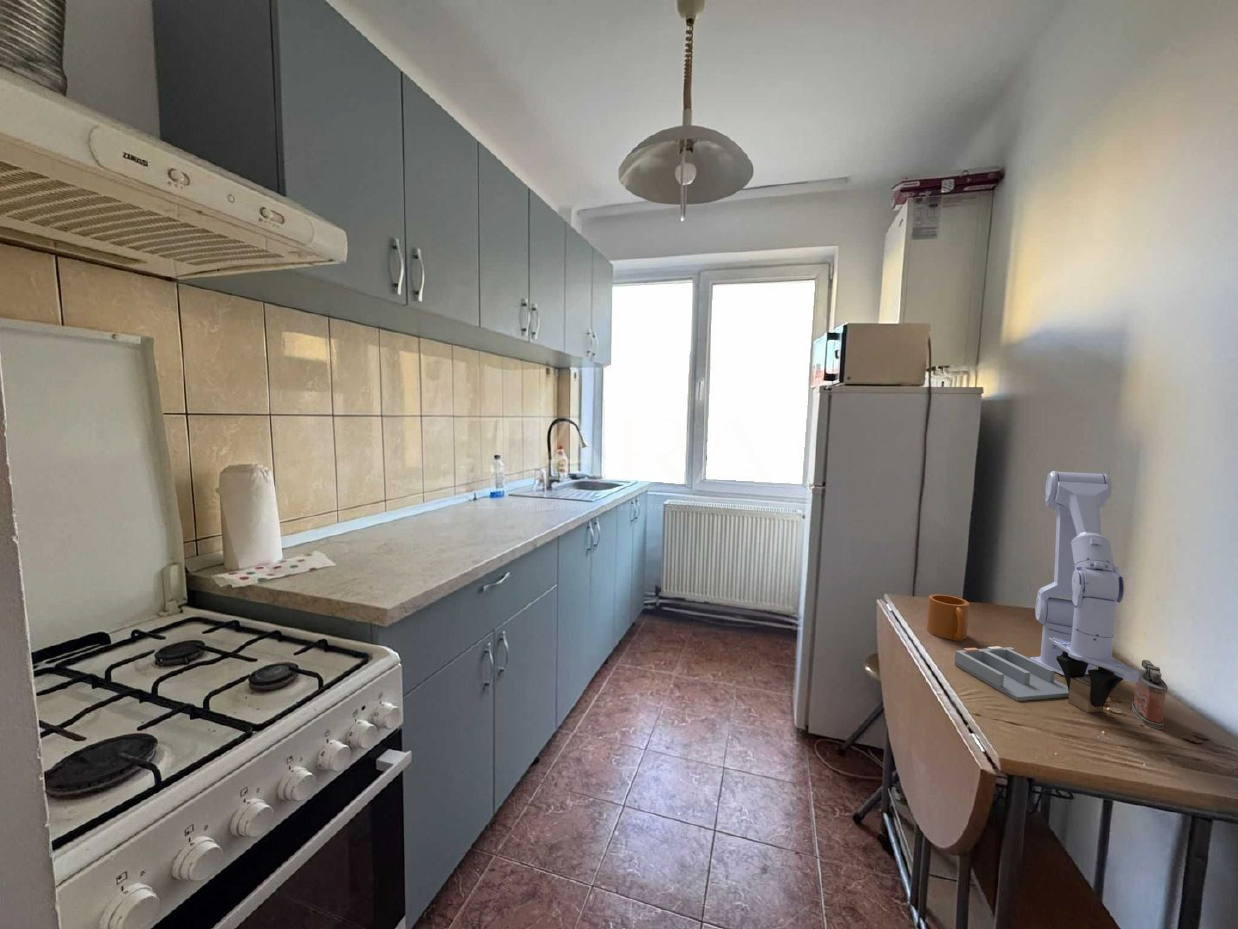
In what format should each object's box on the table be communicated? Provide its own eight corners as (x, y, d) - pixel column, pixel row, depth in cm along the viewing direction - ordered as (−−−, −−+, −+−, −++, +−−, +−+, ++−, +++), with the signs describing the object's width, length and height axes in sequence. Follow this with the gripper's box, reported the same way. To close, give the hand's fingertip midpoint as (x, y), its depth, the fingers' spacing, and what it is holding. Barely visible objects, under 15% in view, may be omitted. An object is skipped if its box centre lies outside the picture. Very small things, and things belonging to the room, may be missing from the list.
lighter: (1168, 731, 89) (1174, 677, 89) (1141, 725, 91) (1147, 672, 90) (1151, 710, 96) (1157, 659, 95) (1127, 704, 98) (1132, 655, 97)
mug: (934, 642, 125) (936, 607, 124) (922, 625, 136) (924, 592, 136) (977, 647, 122) (978, 611, 122) (961, 629, 134) (962, 596, 133)
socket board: (1009, 661, 115) (1011, 645, 115) (1079, 695, 101) (1080, 678, 100) (954, 664, 113) (955, 649, 113) (1017, 701, 98) (1018, 682, 98)
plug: (1083, 701, 99) (1085, 675, 98) (1102, 711, 95) (1105, 684, 95) (1068, 702, 98) (1070, 676, 98) (1087, 712, 95) (1090, 685, 94)
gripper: (1037, 617, 102) (1031, 681, 103) (1118, 649, 88) (1111, 723, 89) (1066, 616, 103) (1060, 679, 104) (1151, 647, 89) (1143, 720, 90)
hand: (1085, 699), depth 97 cm, fingers closed on plug, 3 cm apart
